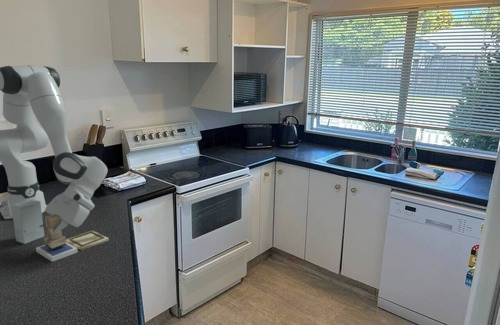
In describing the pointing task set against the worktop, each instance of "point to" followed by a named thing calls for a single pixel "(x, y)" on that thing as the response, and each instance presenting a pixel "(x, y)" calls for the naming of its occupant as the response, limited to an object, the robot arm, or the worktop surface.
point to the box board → (87, 240)
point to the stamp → (53, 233)
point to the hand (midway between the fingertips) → (52, 230)
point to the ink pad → (56, 251)
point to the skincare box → (27, 221)
